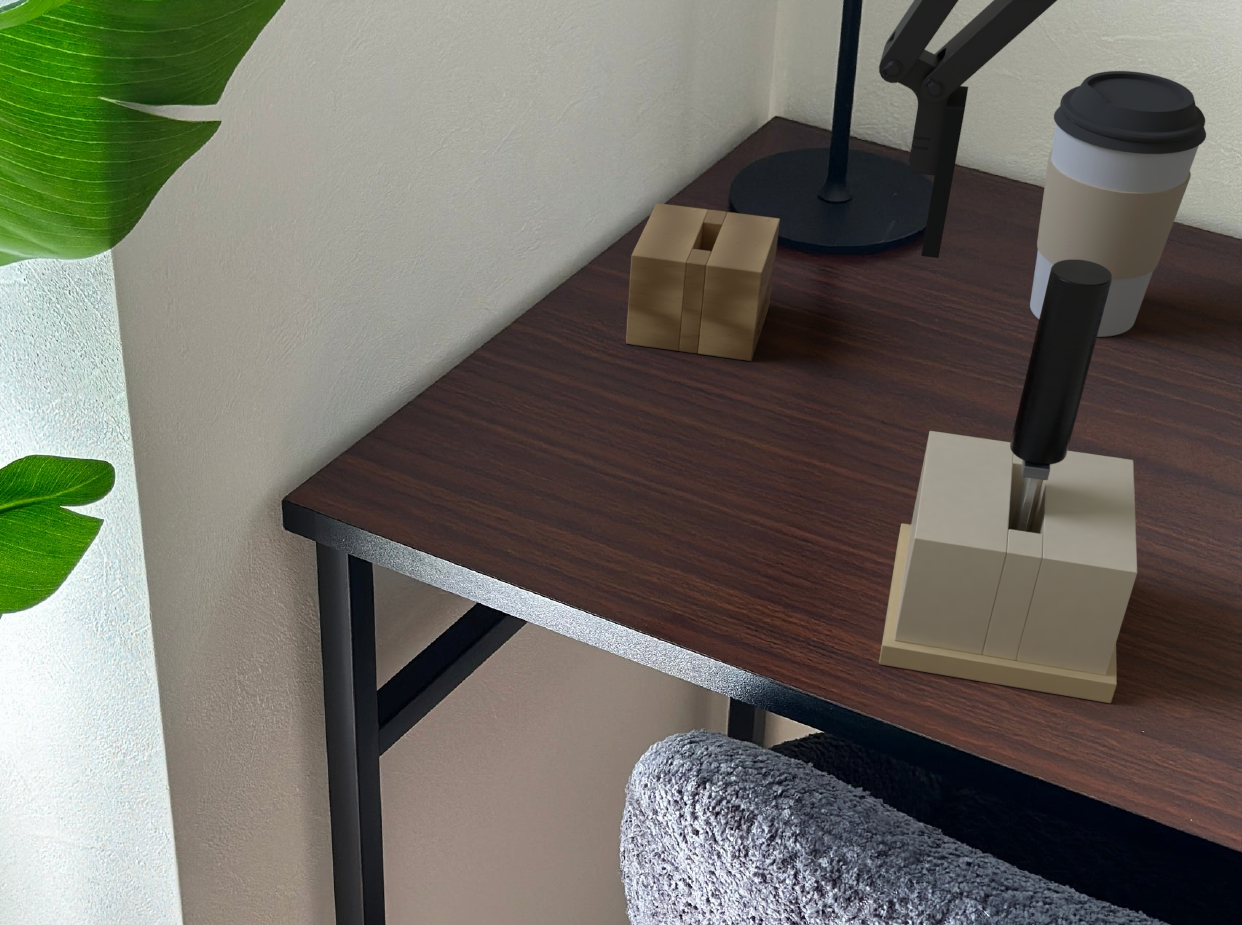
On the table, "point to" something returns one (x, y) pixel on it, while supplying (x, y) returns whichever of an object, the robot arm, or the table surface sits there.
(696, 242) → the knife block
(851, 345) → the table surface
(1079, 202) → the coffee cup
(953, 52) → the robot arm
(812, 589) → the table surface
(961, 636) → the slotted block on base
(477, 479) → the table surface
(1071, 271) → the knife
